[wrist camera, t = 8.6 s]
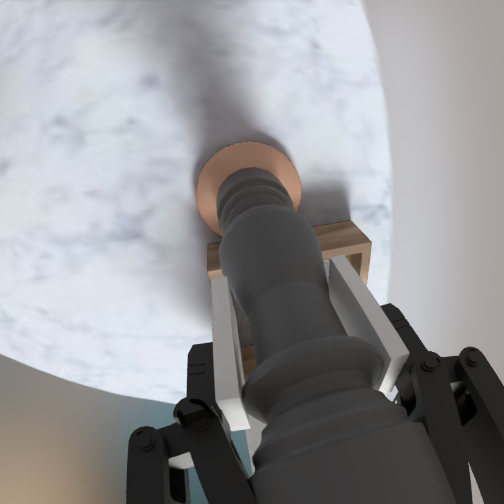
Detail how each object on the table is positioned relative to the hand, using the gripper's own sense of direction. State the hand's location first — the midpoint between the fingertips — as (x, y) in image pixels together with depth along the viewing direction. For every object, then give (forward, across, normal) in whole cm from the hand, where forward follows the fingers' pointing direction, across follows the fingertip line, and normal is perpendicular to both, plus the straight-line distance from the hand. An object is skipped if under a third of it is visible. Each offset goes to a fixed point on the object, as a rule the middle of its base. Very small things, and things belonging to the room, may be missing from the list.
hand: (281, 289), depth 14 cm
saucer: (+15, 0, 0) cm, 15 cm away
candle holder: (+13, 0, 0) cm, 13 cm away
